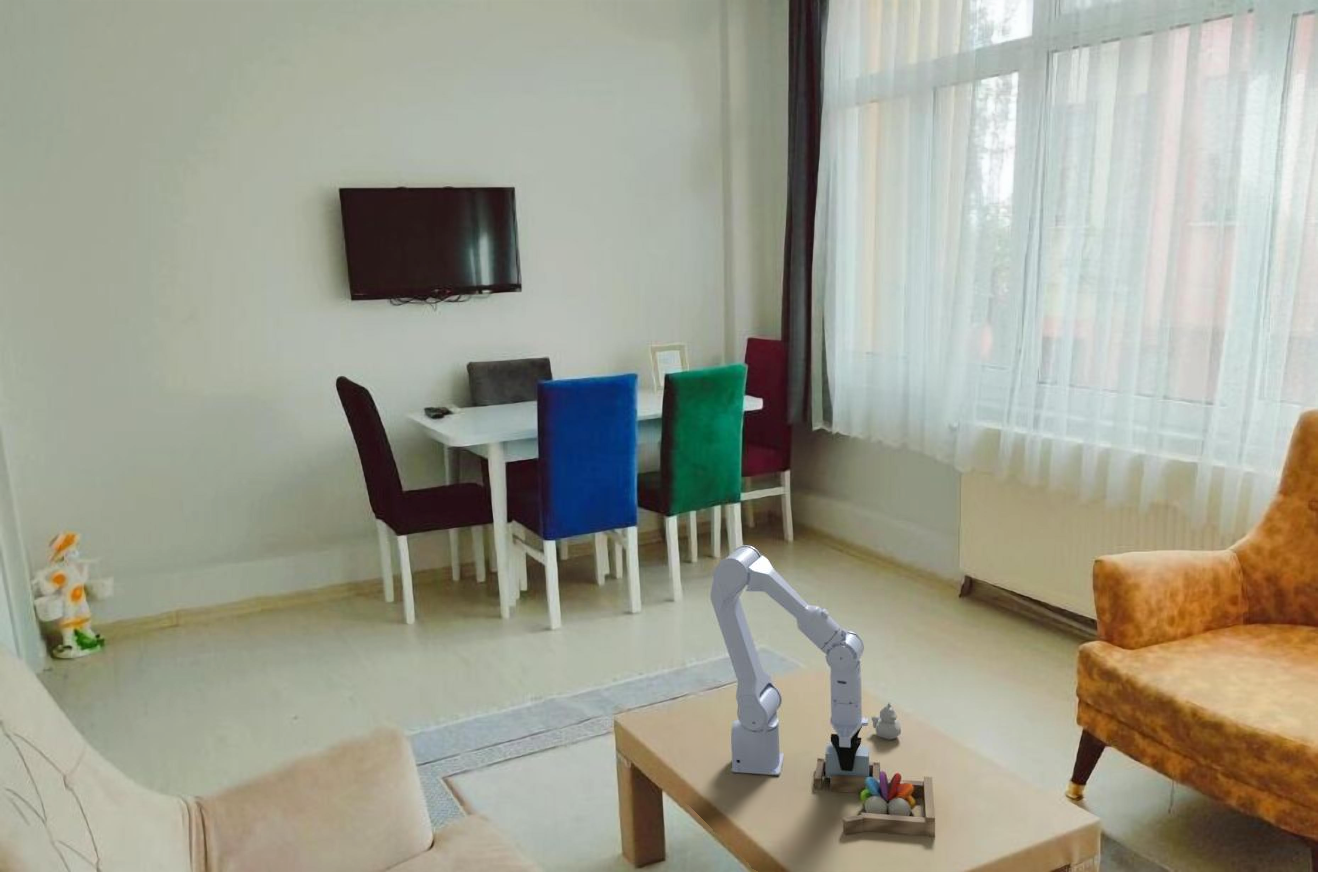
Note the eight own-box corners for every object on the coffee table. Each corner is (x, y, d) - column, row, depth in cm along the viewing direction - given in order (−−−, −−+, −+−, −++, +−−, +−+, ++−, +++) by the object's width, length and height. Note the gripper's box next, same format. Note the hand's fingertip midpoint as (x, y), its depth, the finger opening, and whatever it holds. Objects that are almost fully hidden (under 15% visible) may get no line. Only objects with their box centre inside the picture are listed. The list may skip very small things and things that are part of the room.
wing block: (825, 777, 184) (825, 753, 183) (827, 767, 188) (826, 743, 187) (868, 781, 182) (868, 756, 181) (869, 770, 186) (868, 746, 185)
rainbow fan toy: (915, 825, 170) (915, 788, 168) (859, 820, 172) (858, 783, 171) (915, 799, 178) (915, 763, 176) (861, 795, 180) (861, 759, 179)
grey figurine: (892, 746, 197) (892, 709, 196) (865, 736, 202) (864, 700, 200) (906, 736, 201) (906, 700, 199) (879, 727, 205) (879, 691, 204)
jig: (808, 831, 169) (807, 813, 169) (817, 767, 190) (817, 751, 190) (935, 842, 164) (935, 823, 164) (930, 775, 185) (930, 758, 185)
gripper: (866, 716, 174) (867, 785, 177) (868, 682, 188) (869, 746, 191) (827, 714, 176) (828, 782, 178) (832, 680, 190) (833, 744, 192)
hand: (847, 763), depth 185 cm, fingers closed on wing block, 4 cm apart
